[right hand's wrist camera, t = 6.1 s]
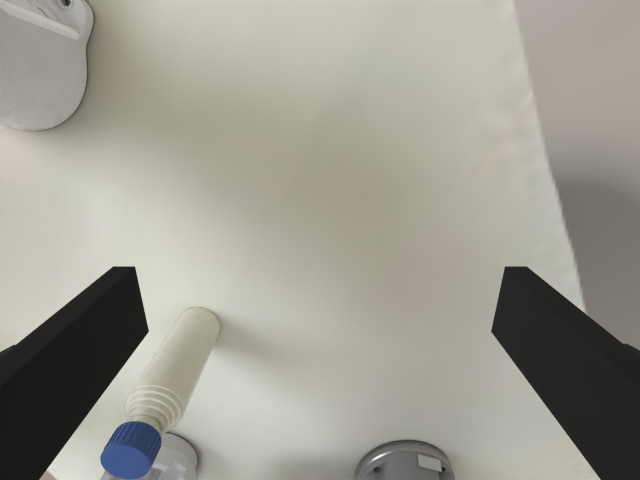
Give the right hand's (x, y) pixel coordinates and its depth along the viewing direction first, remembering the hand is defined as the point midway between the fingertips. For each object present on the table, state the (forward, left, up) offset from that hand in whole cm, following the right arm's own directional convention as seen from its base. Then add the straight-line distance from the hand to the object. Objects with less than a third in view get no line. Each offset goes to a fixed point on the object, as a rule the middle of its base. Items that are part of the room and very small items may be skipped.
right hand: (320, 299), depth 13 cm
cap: (-21, +16, -9) cm, 28 cm away
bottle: (-21, +16, -28) cm, 38 cm away
